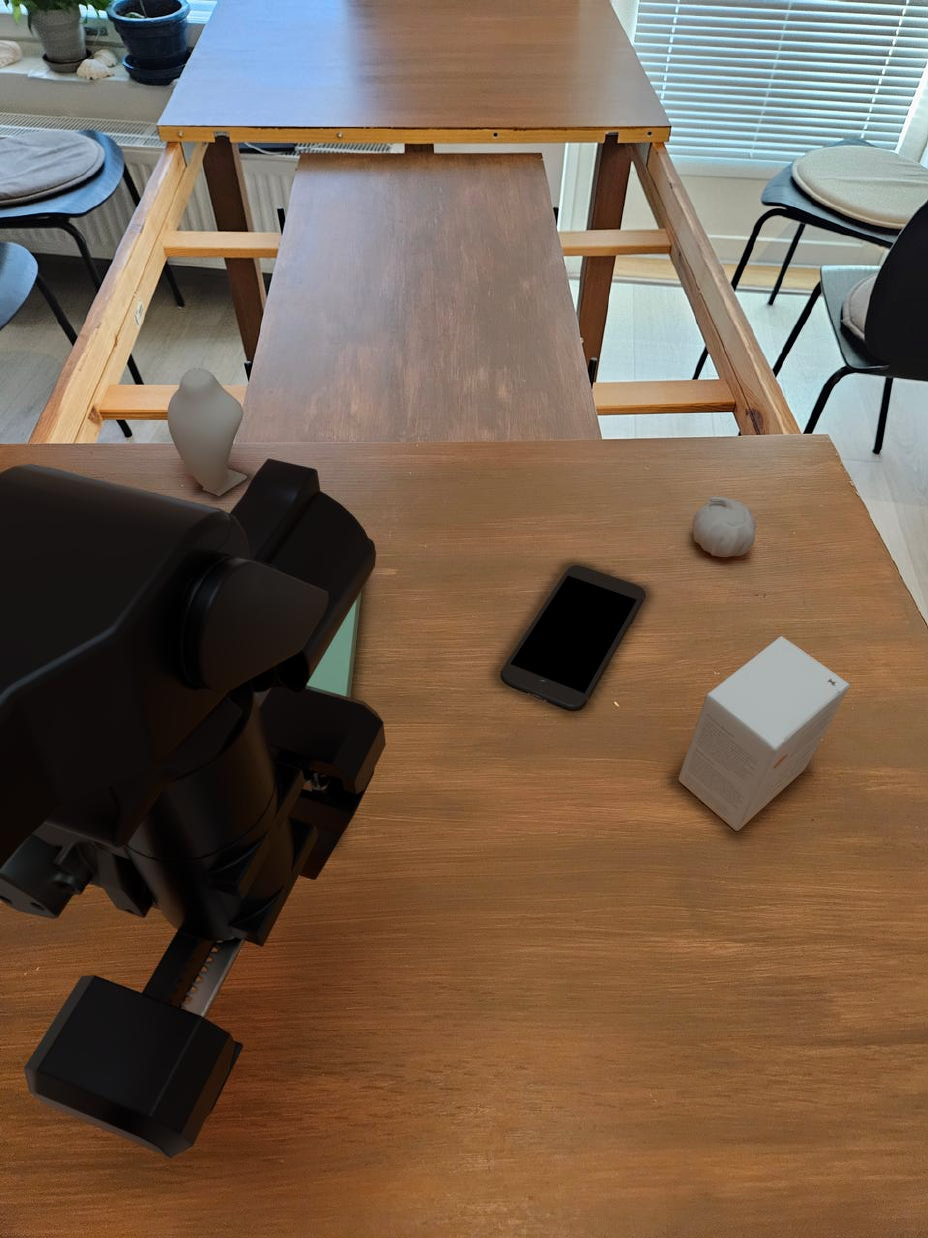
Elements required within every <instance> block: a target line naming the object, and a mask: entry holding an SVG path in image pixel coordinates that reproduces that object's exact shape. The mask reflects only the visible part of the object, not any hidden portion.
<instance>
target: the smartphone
mask: <svg viewBox="0 0 928 1238" xmlns="http://www.w3.org/2000/svg"><path fill="white" fill-rule="evenodd" d="M645 599H646V590H645V588H643V587H642V586H640V585H638V584H636V583H632V582H630V581H627V580H624V579H621V578H619V577H616V576H612V575H610V574H606V573H604V572H601V571H598V570H595V569H592V568H589V567H587V566H583V565H578V564H574V565H571V566H569V567H568V568H567V569H566V570H565V572H564V573H563V575H562V576H561V577H560V579H559V581H558V582H557V584H556V585H555V586H554V588H553V589H552V591H551V592H550V594H549V595H548V597H547V598H546V600H545V602H544V603H543V605H542V607H541V608H540V610H539V611H538V613H537V615H536V616H535V617H534V619H533V621H532V622H531V624H529V627H528V628H527V629H526V631H525V633H524V634H523V636H522V637H521V639H520V640H519V642H518V644H517V645H516V647H515V648H514V650H513V651H512V653H511V654H510V656H509V657H508V659H507V660H506V662H505V663H504V665H503V667H502V668H501V670H500V672H499V673H500V675H499V678H500V680H501V682H502V683H503V684H505V685H506V686H508V687H511V688H512V689H515V690H518V691H520V692H522V693H524V694H527V695H529V696H531V697H532V696H533V697H536V698H538V699H541V701H543V702H546V703H547V704H550V705H553V706H554V707H558V708H560V709H563V710H566V711H568V712H579V711H581V710H583V709H584V708H585V707H586V705H587V704H588V702H589V700H591V697H592V696H593V694H594V692H595V690H596V688H597V686H598V685H599V683H600V681H601V679H602V677H603V675H604V674H605V672H606V671H607V668H608V667H609V666H610V663H611V661H612V659H613V657H614V656H615V654H616V652H617V650H618V649H619V647H620V645H621V643H622V641H623V639H624V638H625V636H626V635H627V632H628V630H629V629H630V627H631V625H632V624H633V623H634V620H635V619H636V616H637V614H638V612H639V611H640V609H641V608H642V605H643V603H644V602H645Z"/></svg>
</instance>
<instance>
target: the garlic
mask: <svg viewBox="0 0 928 1238" xmlns="http://www.w3.org/2000/svg"><path fill="white" fill-rule="evenodd" d="M691 526H692V533H693V540H694V542H695V543H697V544H698V545H699V546H701V549H702V550H704V551H705V552H707V553H709V554H711V556H713V557H714V556H715V557H720V558H729V557H740V556H741V557H742V556H744V555H746V554H747V553H748V552H749V551H750V550H751V548H752V547H753V545H754V543H755V541H756V530H757V524H756V519H755V517H754V516H753V513H752V511H751V509H749V508H748V506H746V505H745V504H744V503H742V502H740V501H739V500H734V499H731V498H727V497H724V496H714V495H713V496H711V497H710V498H708V499H707V500H706V502H705V503H704V504H703V505H702V506H701V507H699V509H697V510H696V511H695V514H694V515H693V518H692V523H691Z"/></svg>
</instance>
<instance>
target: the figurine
mask: <svg viewBox="0 0 928 1238" xmlns="http://www.w3.org/2000/svg"><path fill="white" fill-rule="evenodd" d="M166 413H167V416H166V417H167V426H168V431H169V434H170V436H171V439H172V442H173V444H174V447H175V448H176V451H177V453H178V455H179V456H180V458H181V460H182V462H183V464H184V465H185V467H186V469H187V470H188V471H189V473H190V474H191V476H192V477H193V478H194V479H195V481H196V482H197V483H199V485H200V486H201V487H202V490H203V491H205V492H208V493H210V494H213V495H216V496H218V497H221V496H222V495H224V494H225V493H227V492H229V490H231V489H232V488H234V487H236V486H237V485H239V484H240V483H242V482H243V481H245V480H247V479H248V476H246V475H245V474H243V473H240V472H237V471H235V470H232V469H230V468H228V466H229V461H230V456H231V452H232V448H233V445H234V443H235V439H236V436H237V434H238V431H239V428H240V426H241V424H242V420H243V417H244V408H243V406H242V403H240V401H239V400H238V399H237V398H236V397H235V396H233V395H232V394H231V393H229V392H228V391H227V390H226V389H225V388H224V387H223V385H222V384H221V383H220V381H219V380H218V379H217V378H216V377H215V375H214V373H212V372H210V370H208V369H205V368H200V367H193V368H190V369H188V370H187V371H186V372H184V374H183V375H182V377H181V378H180V382H179V386H178V388H177V390H175V392H174V393H173V394H172V396H171V397H170V400H169V403H168V406H167V412H166Z"/></svg>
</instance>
